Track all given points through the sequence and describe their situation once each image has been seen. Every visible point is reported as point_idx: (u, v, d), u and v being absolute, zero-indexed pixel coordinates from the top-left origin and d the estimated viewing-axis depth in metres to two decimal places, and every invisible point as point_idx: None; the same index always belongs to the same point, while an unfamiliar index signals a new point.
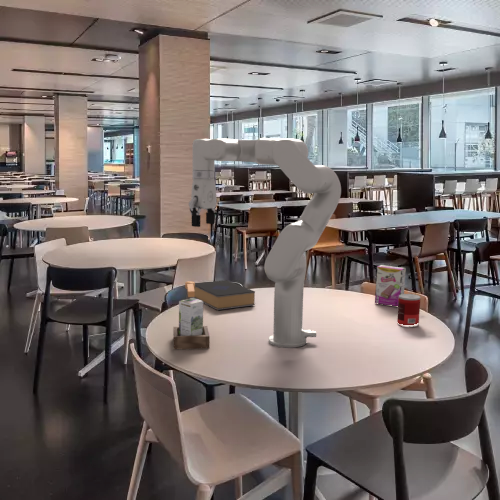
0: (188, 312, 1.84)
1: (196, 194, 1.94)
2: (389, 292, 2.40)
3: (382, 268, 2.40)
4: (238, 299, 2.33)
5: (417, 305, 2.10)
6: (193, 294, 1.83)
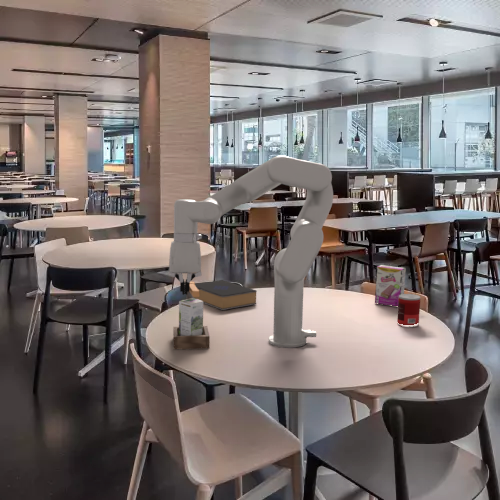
0: (188, 312, 1.84)
1: None
2: (389, 292, 2.40)
3: (382, 268, 2.40)
4: (241, 298, 2.34)
5: (417, 305, 2.10)
6: (198, 294, 1.83)
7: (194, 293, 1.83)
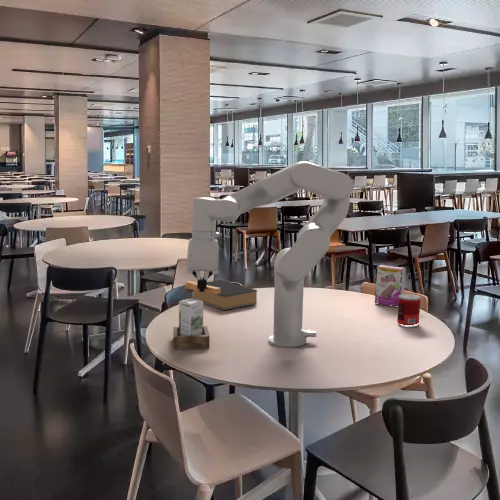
0: (188, 312, 1.84)
1: None
2: (389, 292, 2.40)
3: (382, 268, 2.40)
4: (242, 298, 2.35)
5: (417, 305, 2.10)
6: (219, 291, 1.88)
7: (217, 290, 1.87)
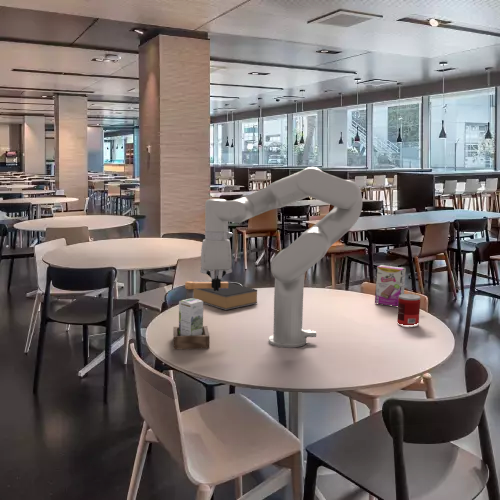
0: (188, 312, 1.84)
1: None
2: (389, 292, 2.40)
3: (382, 268, 2.40)
4: (243, 298, 2.35)
5: (417, 305, 2.10)
6: None
7: None
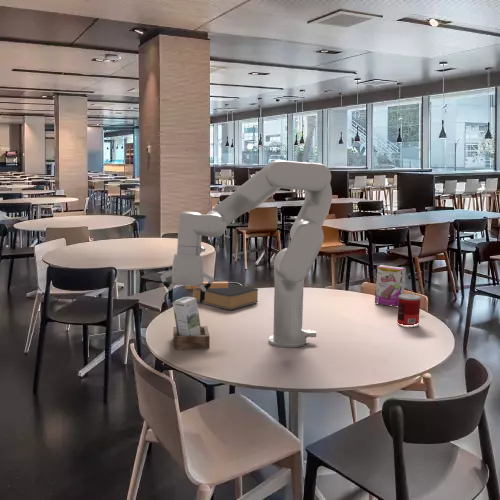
0: (183, 312, 1.84)
1: None
2: (389, 292, 2.40)
3: (382, 268, 2.40)
4: (245, 297, 2.36)
5: (417, 305, 2.10)
6: None
7: None
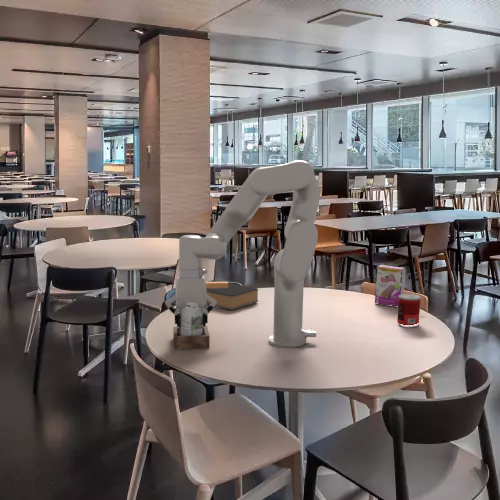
0: (188, 312, 1.84)
1: (206, 291, 1.87)
2: (389, 292, 2.40)
3: (382, 268, 2.40)
4: (246, 297, 2.37)
5: (417, 305, 2.10)
6: None
7: None
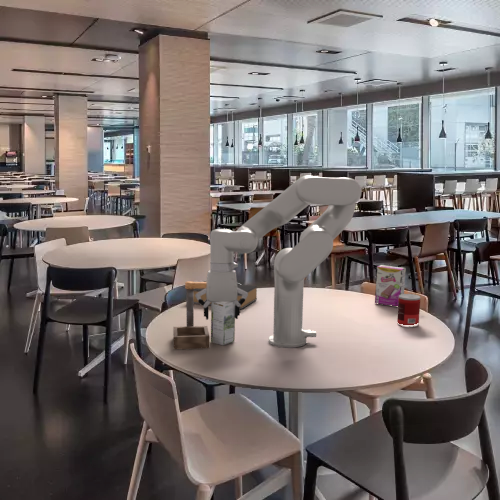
0: (221, 312, 1.86)
1: None
2: (389, 292, 2.40)
3: (382, 268, 2.40)
4: (250, 295, 2.40)
5: (417, 305, 2.10)
6: None
7: None
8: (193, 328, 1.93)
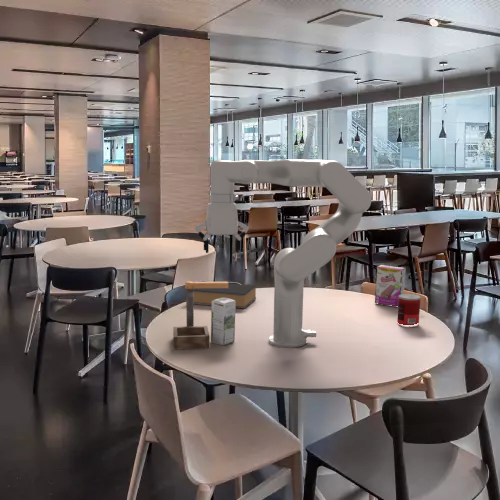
0: (221, 312, 1.86)
1: None
2: (389, 292, 2.40)
3: (382, 268, 2.40)
4: (250, 295, 2.41)
5: (417, 305, 2.10)
6: None
7: None
8: (193, 328, 1.93)
